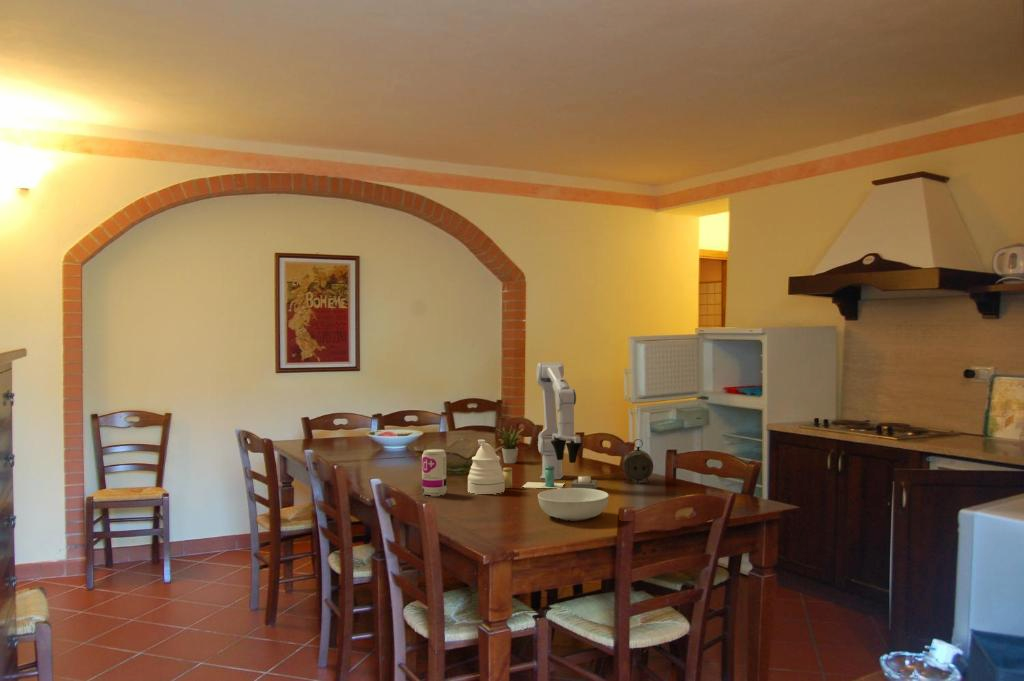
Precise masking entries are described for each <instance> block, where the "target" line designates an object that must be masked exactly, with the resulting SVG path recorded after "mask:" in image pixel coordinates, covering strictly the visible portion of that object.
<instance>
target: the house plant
mask: <svg viewBox="0 0 1024 681" xmlns="http://www.w3.org/2000/svg"><path fill="white" fill-rule="evenodd" d="M512 427H513V425H511V427H510V429H509V431H507V430H506V428H505V427H504V426H503V427H502V430H500V429H499V428H497V431H499V432H495V433H498V434H499V436H501V438H499V439H498V441H499V442H500V444H502V445H503V446H504V447H502V448H501V451H502V457H503V458H502V459H503V463H504V464H516V463H517V460H518V459H517V458H518V453H519V448H518V447H517V446H516V445H518V444H519V443H520V442H521V438H518V435H519V434H521V432H522V431H523V430H524V429H523V428H522V429H521V430H518V431H516V432H515V429H512ZM511 434H512V435H511Z"/></svg>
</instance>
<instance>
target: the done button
mask: <svg viewBox="0 0 1024 681" xmlns="http://www.w3.org/2000/svg"><path fill="white" fill-rule="evenodd" d="M577 480H578V483H591V480H592V478H591V476H589V475H579V476H577Z"/></svg>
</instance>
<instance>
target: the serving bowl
mask: <svg viewBox="0 0 1024 681" xmlns="http://www.w3.org/2000/svg"><path fill="white" fill-rule="evenodd" d="M609 498H610V496H609V493H608V492H606V491H604V490H600V489H596V490H595V489H587V488H572V487H562V488H561V489H546V490H544V491H541V492H539V493H538V494H537V499H538V503H539V504H538V505H539V506H540V508H541V509H542V511H543V512H544V513H546V515H549V516H551V517H553V518H556V519H559V518H560V519H559V520H562V519H563V521H568V520H570V521H571V522H572V521H573V522H575V521H576V522H577V521H578V520H579V521H585V520H588V519H591V518H594V517H596V516H598V515H600V514H601V513H603V512H604V511H605V510H606V508H607V507H608V503H609ZM570 521H569V522H570Z"/></svg>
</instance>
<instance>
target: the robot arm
mask: <svg viewBox="0 0 1024 681" xmlns="http://www.w3.org/2000/svg"><path fill="white" fill-rule="evenodd" d="M535 370H536V371H535V372H536V382H537V385H538V386H540V387H541V392H542V401H543V402H542V403H543V417H544V418H543V419H544V429H542V431H540V432H539V433H538V435H537V439H538V441H537V447H538V452H539V453H540V454H541V455H542V461H541V462H542V464H541V465H542V470H541V472H542V474H541V476H540V477H539V478H540V479H545V466H554V480H562V478H563V477H564V476H565V474H564V473H563V472H562V470H563V469H562V468H563V467H562V464H563V463H562V461H563V460H564V456H565V451H566V448H567V453H568V461H569V462H568V463H570V464H572V463H573V464H574V463H576V461H577V457H578V453H579V451H580V449H581V447H582V442H581V437H580V436H578V435H575V405H576V403H577V393H576V390H575V388H572V387H570V385H569V383H568V380H566V379H565V378H563V377H564V374H565V367H564V364H563V362H561V361H560V362H538V363H537V364H536V369H535Z"/></svg>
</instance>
